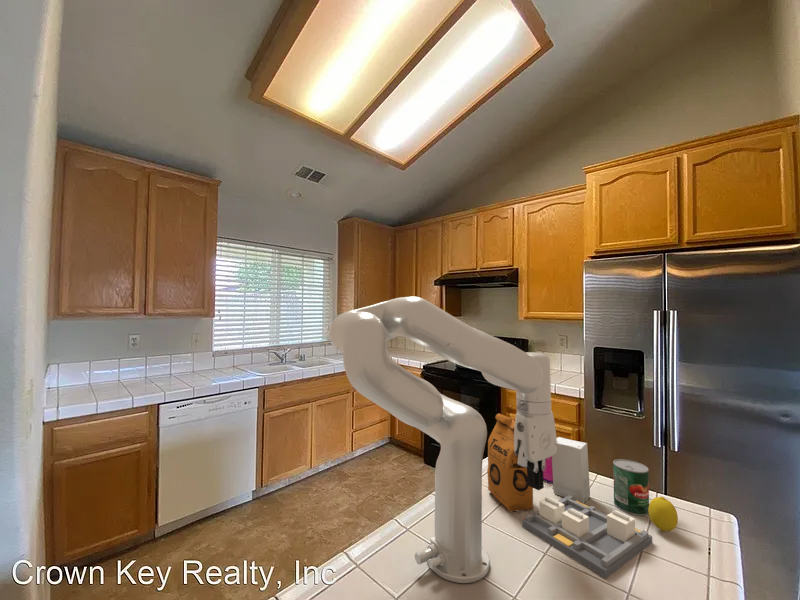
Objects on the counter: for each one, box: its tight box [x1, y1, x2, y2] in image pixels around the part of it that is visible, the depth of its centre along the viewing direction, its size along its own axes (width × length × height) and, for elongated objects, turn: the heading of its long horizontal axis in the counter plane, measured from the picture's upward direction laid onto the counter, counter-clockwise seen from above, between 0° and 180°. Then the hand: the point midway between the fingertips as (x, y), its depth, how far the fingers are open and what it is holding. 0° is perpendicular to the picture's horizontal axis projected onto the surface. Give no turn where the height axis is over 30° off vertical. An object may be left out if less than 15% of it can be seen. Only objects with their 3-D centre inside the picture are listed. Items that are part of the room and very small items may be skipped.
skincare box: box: [552, 436, 591, 504], centre depth 97 cm, size 8×6×15 cm
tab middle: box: [562, 508, 589, 538], centre depth 77 cm, size 4×4×5 cm
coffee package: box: [486, 413, 534, 513], centre depth 94 cm, size 10×12×22 cm
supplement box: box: [542, 456, 553, 484], centre depth 108 cm, size 6×6×12 cm
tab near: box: [606, 509, 636, 543], centre depth 77 cm, size 4×4×5 cm
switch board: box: [522, 495, 653, 580], centre depth 80 cm, size 20×19×2 cm
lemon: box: [648, 496, 679, 533], centre depth 81 cm, size 6×6×8 cm
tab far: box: [538, 496, 565, 524], centre depth 82 cm, size 4×4×5 cm
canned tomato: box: [612, 458, 650, 517], centre depth 92 cm, size 8×8×11 cm
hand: (535, 486), depth 79 cm, fingers closed
